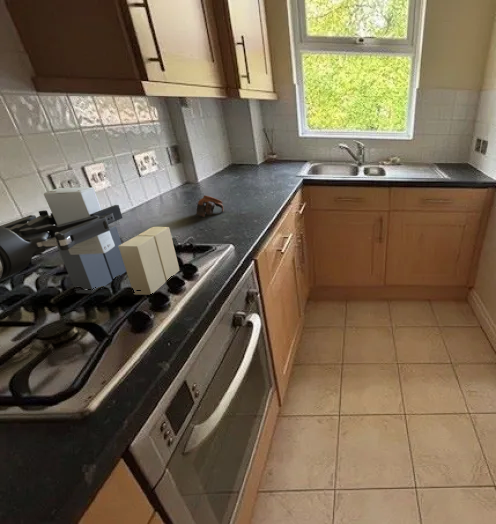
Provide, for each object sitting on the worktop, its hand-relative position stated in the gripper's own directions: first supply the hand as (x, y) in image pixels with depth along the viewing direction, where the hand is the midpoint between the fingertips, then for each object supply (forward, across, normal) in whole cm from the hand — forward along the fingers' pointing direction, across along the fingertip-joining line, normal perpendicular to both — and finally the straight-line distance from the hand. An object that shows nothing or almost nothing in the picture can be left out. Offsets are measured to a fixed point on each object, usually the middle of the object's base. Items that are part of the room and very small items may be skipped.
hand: (100, 211), depth 66 cm
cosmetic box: (-5, 0, -7) cm, 8 cm away
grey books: (+7, -10, -20) cm, 23 cm away
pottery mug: (+62, -8, -20) cm, 66 cm away
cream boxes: (+7, +3, -20) cm, 21 cm away
